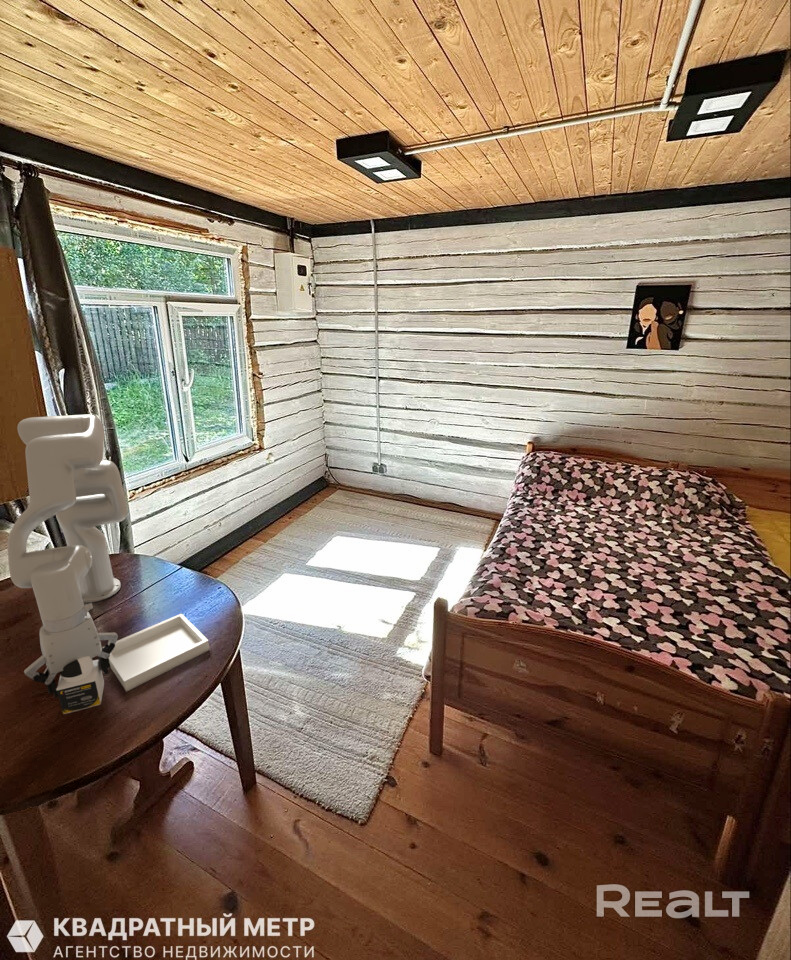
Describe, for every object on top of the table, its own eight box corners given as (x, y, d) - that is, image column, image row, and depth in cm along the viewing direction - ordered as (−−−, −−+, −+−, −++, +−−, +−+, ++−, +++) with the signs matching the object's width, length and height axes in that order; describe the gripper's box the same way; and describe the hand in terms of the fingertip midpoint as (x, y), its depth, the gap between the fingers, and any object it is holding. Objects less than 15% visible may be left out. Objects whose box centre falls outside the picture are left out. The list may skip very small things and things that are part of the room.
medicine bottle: (62, 715, 101) (50, 671, 97) (69, 691, 108) (57, 649, 103) (101, 705, 104) (90, 661, 100) (104, 682, 110) (95, 641, 106)
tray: (103, 657, 118) (101, 647, 117) (182, 622, 132) (181, 613, 131) (126, 691, 108) (124, 681, 107) (209, 649, 122) (208, 640, 121)
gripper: (104, 594, 107) (117, 655, 113) (9, 628, 95) (30, 694, 101) (115, 608, 103) (129, 670, 108) (17, 645, 91) (38, 713, 96)
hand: (81, 682), depth 105 cm, fingers open, 9 cm apart
